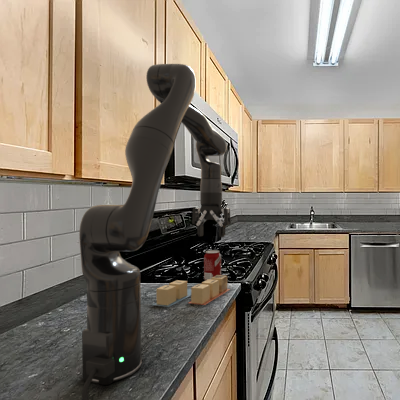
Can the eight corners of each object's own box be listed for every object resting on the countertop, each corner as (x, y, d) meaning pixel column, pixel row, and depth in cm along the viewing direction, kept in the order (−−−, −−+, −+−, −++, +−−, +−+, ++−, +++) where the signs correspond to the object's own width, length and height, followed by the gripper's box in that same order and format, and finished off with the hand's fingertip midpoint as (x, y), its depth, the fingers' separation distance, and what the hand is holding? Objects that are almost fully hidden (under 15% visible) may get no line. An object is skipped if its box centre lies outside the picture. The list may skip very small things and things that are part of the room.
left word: (168, 307, 96) (168, 290, 96) (151, 305, 98) (151, 289, 98) (201, 290, 113) (201, 276, 113) (186, 289, 115) (186, 274, 115)
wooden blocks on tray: (204, 305, 98) (204, 289, 98) (187, 303, 99) (187, 287, 99) (230, 289, 114) (230, 275, 114) (215, 288, 116) (215, 274, 116)
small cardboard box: (221, 292, 110) (221, 278, 110) (211, 291, 111) (211, 277, 111) (227, 289, 114) (227, 275, 114) (217, 288, 115) (217, 274, 115)
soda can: (211, 283, 122) (210, 253, 122) (200, 280, 126) (200, 251, 126) (224, 279, 127) (224, 251, 127) (214, 277, 131) (214, 249, 131)
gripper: (187, 191, 109) (187, 237, 109) (223, 191, 105) (223, 238, 105) (200, 192, 116) (200, 234, 116) (234, 191, 112) (234, 236, 113)
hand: (211, 236), depth 111 cm, fingers open, 8 cm apart
